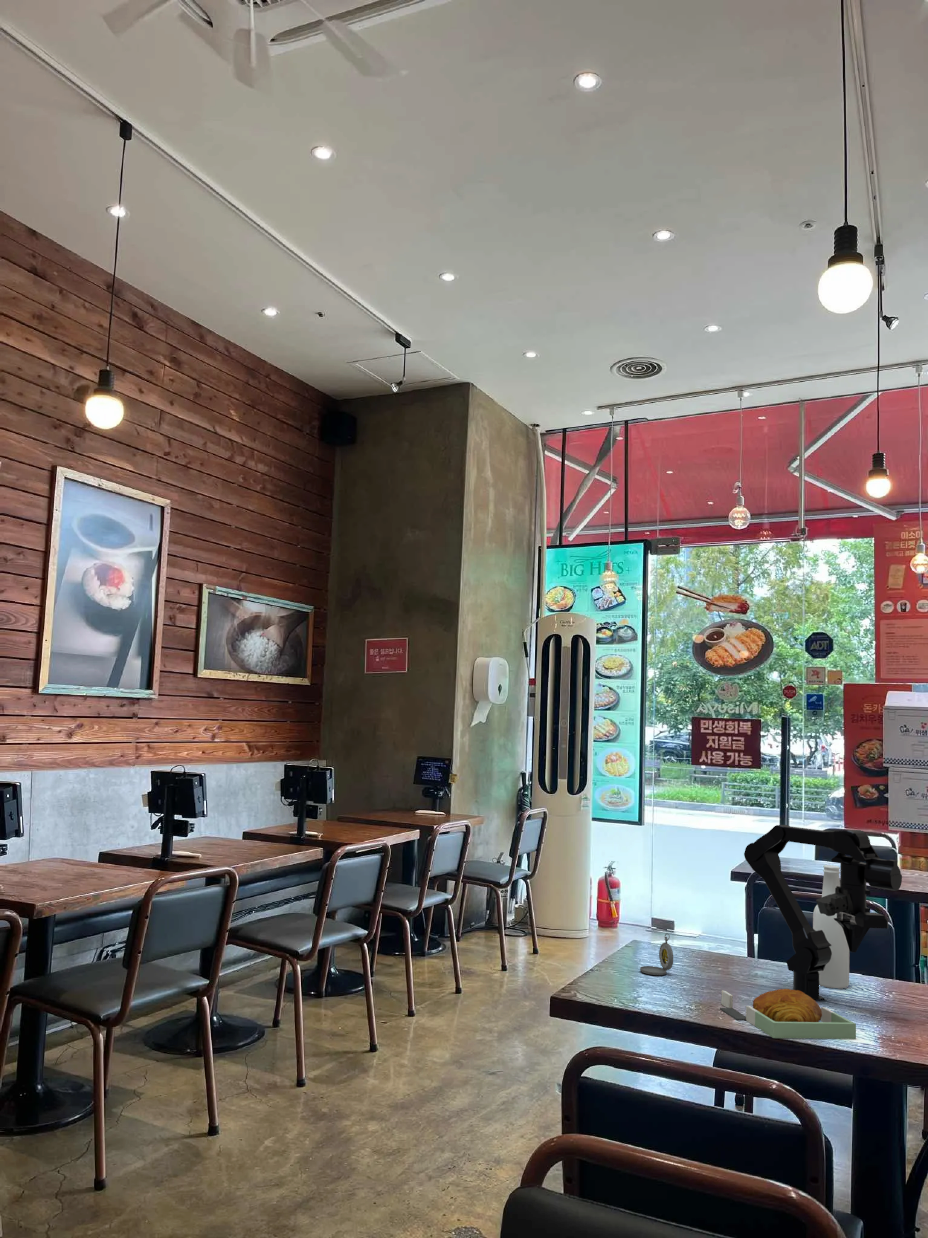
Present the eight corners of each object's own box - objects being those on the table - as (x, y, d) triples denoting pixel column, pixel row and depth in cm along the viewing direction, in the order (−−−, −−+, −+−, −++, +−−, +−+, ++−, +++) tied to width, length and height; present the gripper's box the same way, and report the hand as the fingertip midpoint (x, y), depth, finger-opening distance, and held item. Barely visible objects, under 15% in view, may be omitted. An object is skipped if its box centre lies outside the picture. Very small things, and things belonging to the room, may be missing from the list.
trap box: (712, 1004, 210) (712, 990, 210) (804, 1005, 213) (804, 992, 214) (763, 1038, 186) (763, 1022, 187) (865, 1039, 190) (865, 1024, 190)
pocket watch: (635, 972, 235) (636, 932, 237) (652, 968, 241) (653, 929, 243) (663, 979, 230) (664, 938, 231) (679, 974, 236) (681, 934, 237)
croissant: (823, 1031, 201) (825, 993, 203) (818, 1040, 188) (820, 999, 190) (755, 1017, 208) (757, 980, 210) (746, 1024, 194) (748, 985, 196)
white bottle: (850, 991, 229) (851, 869, 233) (813, 986, 232) (814, 866, 236) (847, 983, 238) (848, 865, 242) (811, 978, 240) (813, 862, 244)
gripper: (800, 876, 224) (800, 942, 222) (845, 889, 205) (844, 961, 203) (842, 878, 225) (841, 943, 223) (889, 891, 207) (889, 962, 205)
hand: (852, 952), depth 214 cm, fingers closed
